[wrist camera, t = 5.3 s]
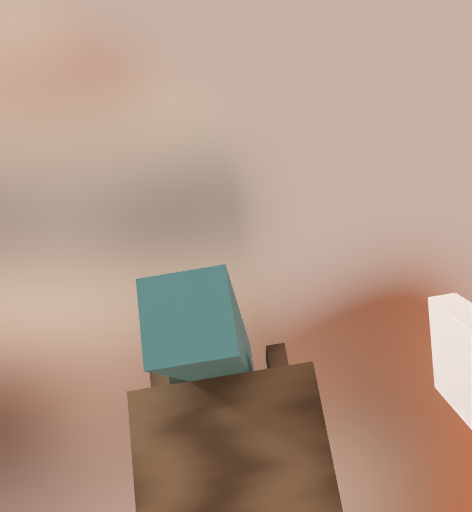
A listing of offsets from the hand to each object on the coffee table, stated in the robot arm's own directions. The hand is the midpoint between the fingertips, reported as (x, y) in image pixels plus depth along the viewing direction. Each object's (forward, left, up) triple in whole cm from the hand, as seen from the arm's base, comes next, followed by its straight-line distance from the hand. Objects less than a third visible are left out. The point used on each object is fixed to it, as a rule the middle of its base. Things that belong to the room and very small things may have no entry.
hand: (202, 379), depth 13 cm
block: (-1, +15, +1) cm, 15 cm away
